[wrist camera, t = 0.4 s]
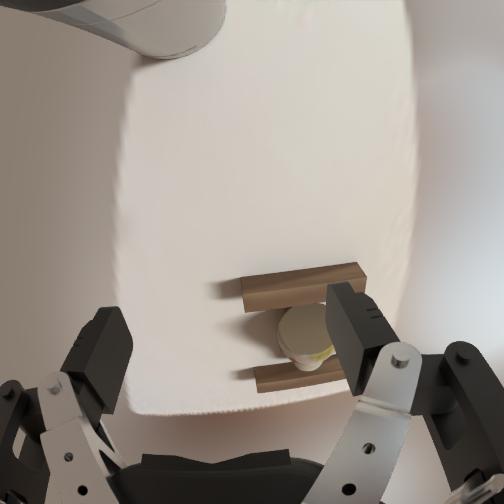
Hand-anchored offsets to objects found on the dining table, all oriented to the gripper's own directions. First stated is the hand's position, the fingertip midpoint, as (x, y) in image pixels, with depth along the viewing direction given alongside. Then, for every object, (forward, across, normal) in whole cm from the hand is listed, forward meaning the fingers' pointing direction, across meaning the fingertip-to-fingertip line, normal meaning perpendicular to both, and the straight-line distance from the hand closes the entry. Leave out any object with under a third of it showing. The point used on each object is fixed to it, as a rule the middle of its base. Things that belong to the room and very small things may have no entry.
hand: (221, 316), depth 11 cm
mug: (+19, -8, +18) cm, 28 cm away
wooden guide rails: (+19, -7, +18) cm, 27 cm away
